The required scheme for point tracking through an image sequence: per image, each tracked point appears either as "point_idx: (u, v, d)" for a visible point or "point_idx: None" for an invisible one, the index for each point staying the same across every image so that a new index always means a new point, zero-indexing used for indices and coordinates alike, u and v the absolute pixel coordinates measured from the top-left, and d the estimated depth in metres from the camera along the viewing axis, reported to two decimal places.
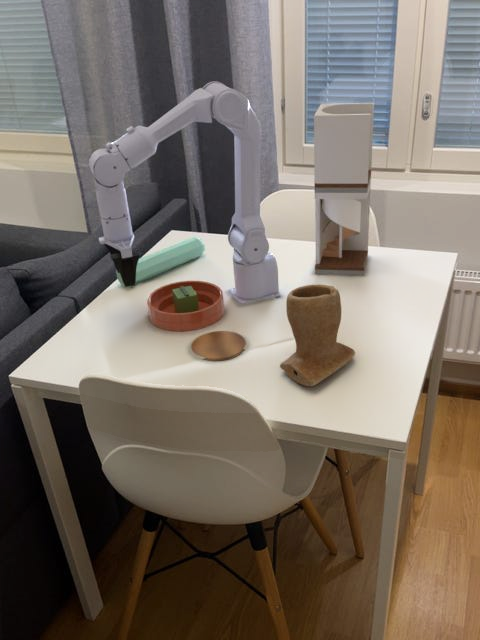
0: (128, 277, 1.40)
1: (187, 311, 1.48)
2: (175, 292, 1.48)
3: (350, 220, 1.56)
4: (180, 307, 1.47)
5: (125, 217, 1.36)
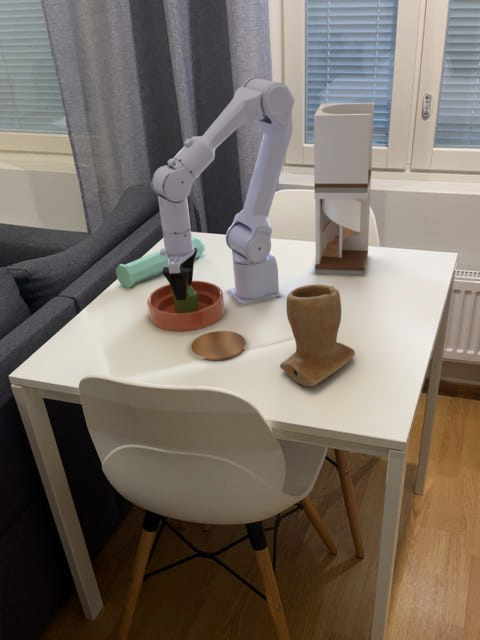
0: (179, 291, 1.43)
1: (187, 311, 1.48)
2: None
3: (350, 220, 1.56)
4: (180, 307, 1.47)
5: (182, 234, 1.38)
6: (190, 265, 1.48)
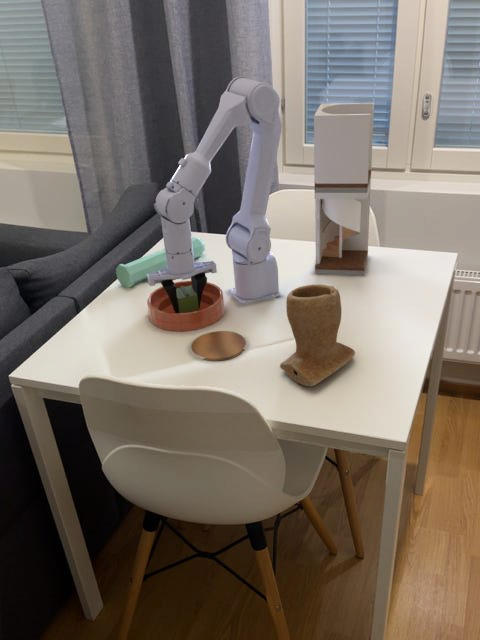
0: None
1: (187, 311, 1.48)
2: None
3: (350, 220, 1.56)
4: (180, 307, 1.47)
5: None
6: None
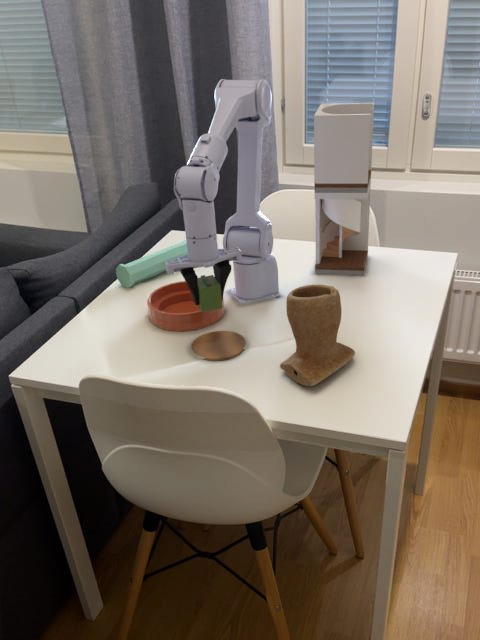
0: None
1: (209, 303, 1.34)
2: None
3: (350, 220, 1.56)
4: (201, 298, 1.33)
5: None
6: None
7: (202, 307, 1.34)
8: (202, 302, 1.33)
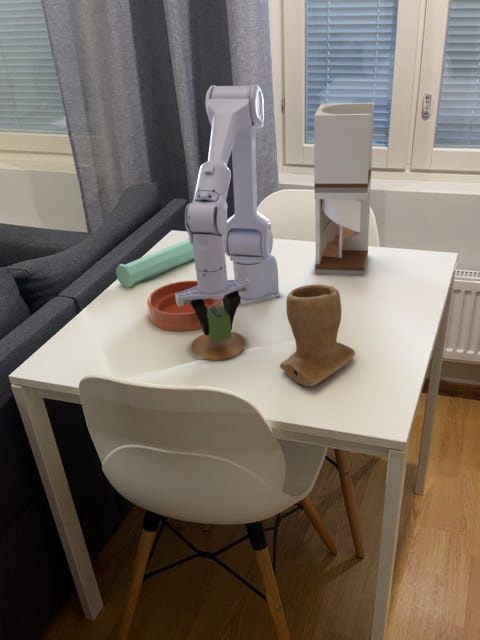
0: None
1: (218, 333, 1.35)
2: None
3: (350, 220, 1.56)
4: (211, 329, 1.34)
5: None
6: None
7: (211, 337, 1.35)
8: (211, 333, 1.34)
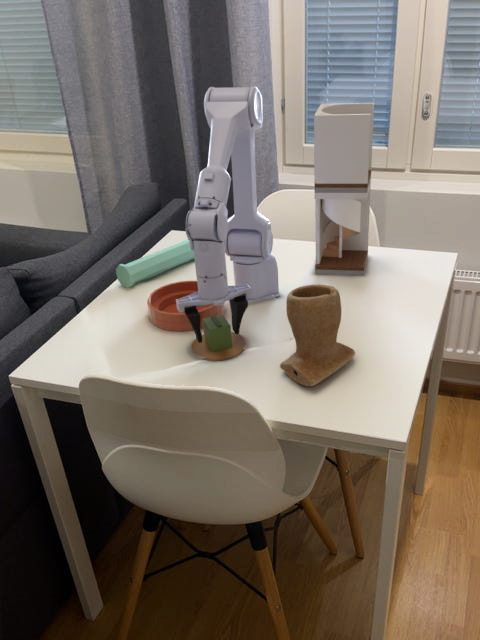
0: None
1: (219, 343, 1.36)
2: (206, 322, 1.36)
3: (350, 220, 1.56)
4: (212, 338, 1.35)
5: None
6: None
7: (212, 347, 1.36)
8: (212, 342, 1.35)
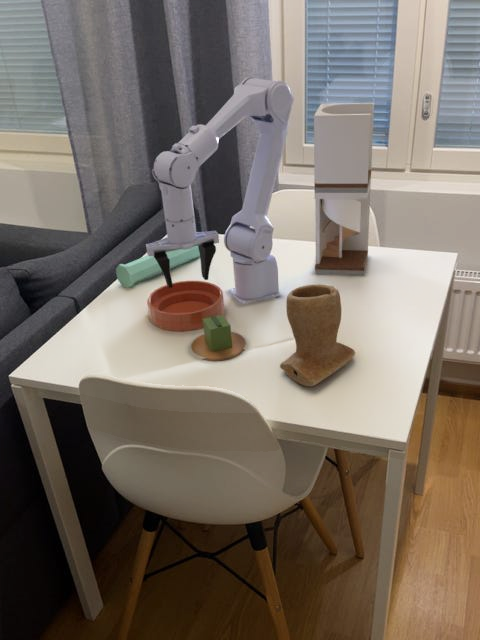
0: None
1: (219, 343, 1.36)
2: (206, 322, 1.36)
3: (350, 220, 1.56)
4: (212, 338, 1.35)
5: None
6: None
7: (212, 347, 1.36)
8: (212, 342, 1.35)
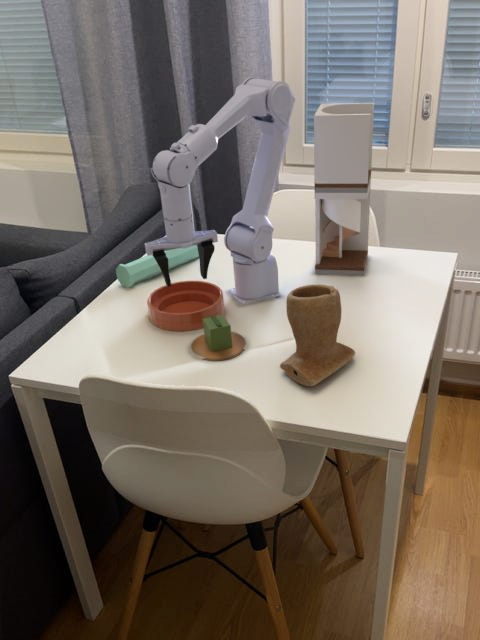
0: None
1: (219, 343, 1.36)
2: (206, 322, 1.36)
3: (350, 220, 1.56)
4: (212, 338, 1.35)
5: None
6: None
7: (212, 347, 1.36)
8: (212, 342, 1.35)
